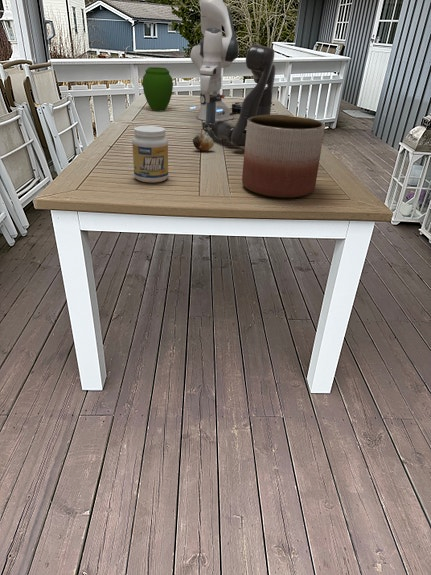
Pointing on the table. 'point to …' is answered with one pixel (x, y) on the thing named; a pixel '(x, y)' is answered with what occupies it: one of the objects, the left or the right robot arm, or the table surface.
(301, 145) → the planter
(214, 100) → the lid
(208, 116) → the dark gray cylinder
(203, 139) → the seashell
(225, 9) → the left robot arm
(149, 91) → the vase
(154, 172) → the supplement tub
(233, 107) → the sign
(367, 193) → the table surface
